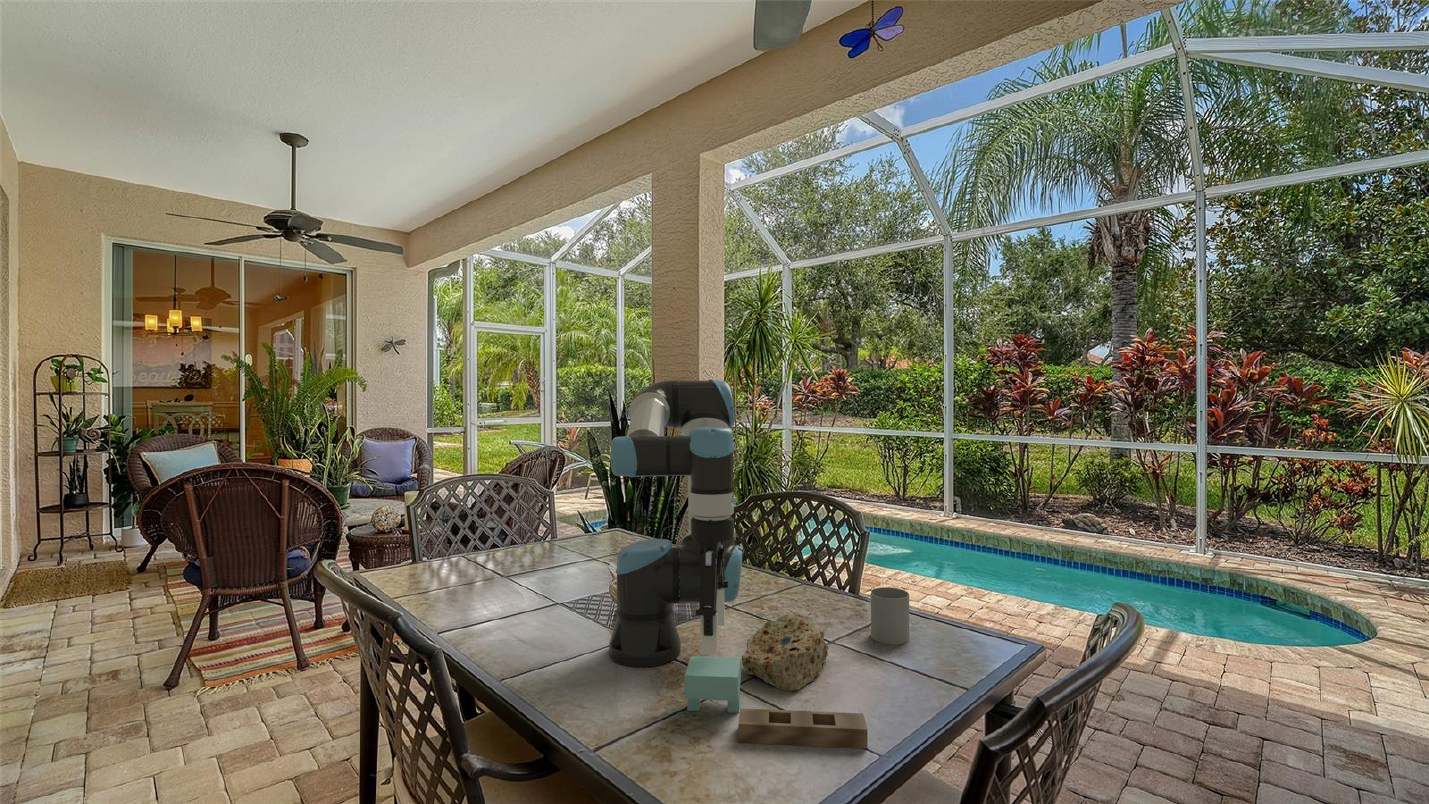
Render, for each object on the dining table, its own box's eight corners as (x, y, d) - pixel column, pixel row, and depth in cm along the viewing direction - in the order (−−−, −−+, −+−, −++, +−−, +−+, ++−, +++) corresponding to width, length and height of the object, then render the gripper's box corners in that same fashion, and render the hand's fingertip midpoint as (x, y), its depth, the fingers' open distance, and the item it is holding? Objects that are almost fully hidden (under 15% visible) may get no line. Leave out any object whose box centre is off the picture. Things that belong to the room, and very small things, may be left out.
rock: (811, 702, 119) (796, 649, 118) (741, 703, 125) (727, 653, 125) (842, 649, 137) (829, 603, 137) (779, 652, 144) (767, 609, 143)
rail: (738, 742, 103) (738, 723, 103) (740, 726, 108) (740, 708, 108) (867, 748, 101) (867, 729, 101) (863, 731, 106) (863, 713, 106)
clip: (684, 719, 111) (684, 675, 110) (691, 697, 118) (691, 656, 118) (738, 721, 110) (737, 677, 109) (740, 699, 118) (740, 657, 117)
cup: (910, 645, 141) (910, 600, 141) (871, 643, 143) (871, 597, 143) (907, 631, 150) (907, 588, 149) (870, 629, 151) (870, 586, 151)
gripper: (728, 531, 101) (729, 668, 101) (738, 504, 125) (739, 614, 126) (680, 530, 101) (681, 667, 101) (699, 504, 126) (700, 614, 126)
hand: (713, 638), depth 113 cm, fingers open, 13 cm apart
